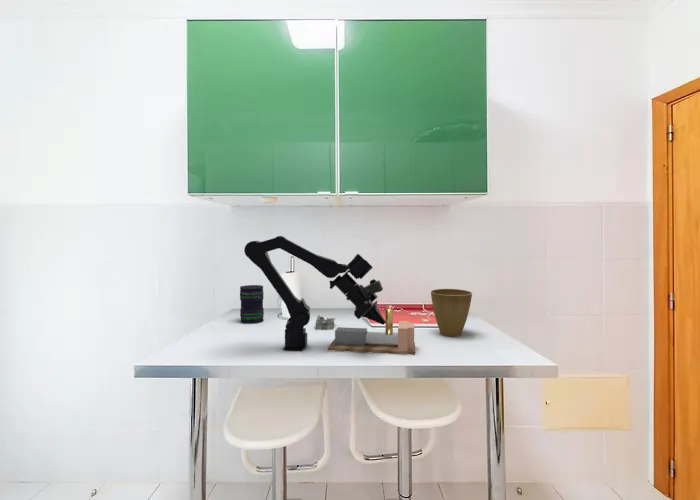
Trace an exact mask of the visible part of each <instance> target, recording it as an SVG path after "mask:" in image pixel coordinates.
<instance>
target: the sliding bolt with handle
mask: <svg viewBox="0 0 700 500" xmlns="http://www.w3.org/2000/svg"><path fill="white" fill-rule="evenodd" d="M384 314H385V319H384V320H385V324H384V325H385V326H384V327H385V330H384V331H385V332H383V331H367V332H366V343H376V344H398V332H394V327H393V325H394V320H393V319H394V308H385V312H384Z"/></svg>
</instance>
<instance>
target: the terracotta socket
mask: <svg viewBox="0 0 700 500" xmlns="http://www.w3.org/2000/svg"><path fill="white" fill-rule="evenodd" d="M397 333H398V351H408V350H414V342H415V322H409V321H405V320H403V321H401V320H399V322H398V326H397Z"/></svg>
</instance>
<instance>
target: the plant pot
mask: <svg viewBox="0 0 700 500" xmlns="http://www.w3.org/2000/svg"><path fill="white" fill-rule="evenodd" d="M430 295H431V296H430V297H431V302H432V303H431V304H432V308H433V313H434V318H435V321H436V324H437V327H438V330H439V332H440V334H441V335H442V336H445V337H460V336H461V335H462V333H463V331H464V328H465V326H466V322H467V321H468V320H467V319H468V317H469V312H470V308H471V303H472V297H473V292H472V291H469V290H465V289H458V288H435V289H432V290H430Z"/></svg>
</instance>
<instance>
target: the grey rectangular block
mask: <svg viewBox="0 0 700 500" xmlns="http://www.w3.org/2000/svg"><path fill="white" fill-rule="evenodd" d="M366 332H368V328H367V327H366V328H365V327H364V328H363V327H362V328H361V327H343V326H341V327H340V326H338V327H337V328H336V329H335V330H334V339H335V345H342V346H364V347H365V346H366V344H367V343H366Z"/></svg>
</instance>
